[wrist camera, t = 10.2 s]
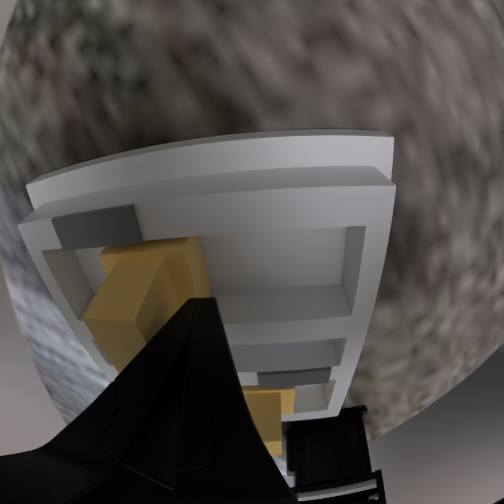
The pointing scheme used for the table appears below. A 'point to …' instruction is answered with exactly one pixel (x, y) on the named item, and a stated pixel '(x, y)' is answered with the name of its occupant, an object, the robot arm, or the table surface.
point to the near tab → (144, 292)
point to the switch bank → (238, 243)
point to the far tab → (270, 412)
